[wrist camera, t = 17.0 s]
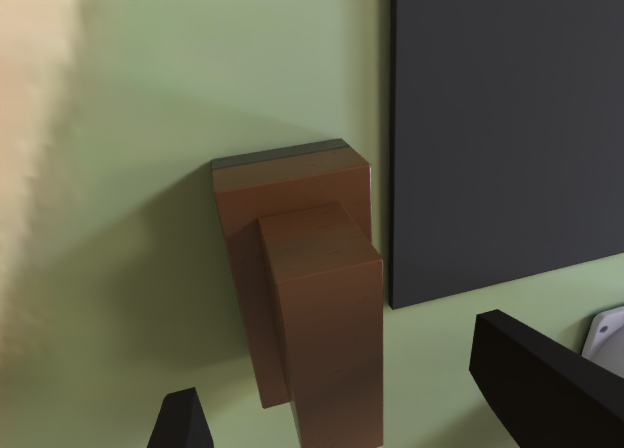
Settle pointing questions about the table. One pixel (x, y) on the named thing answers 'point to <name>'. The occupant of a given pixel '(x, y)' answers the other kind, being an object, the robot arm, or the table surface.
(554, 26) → the mat
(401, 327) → the table surface
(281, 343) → the brown stepped block
